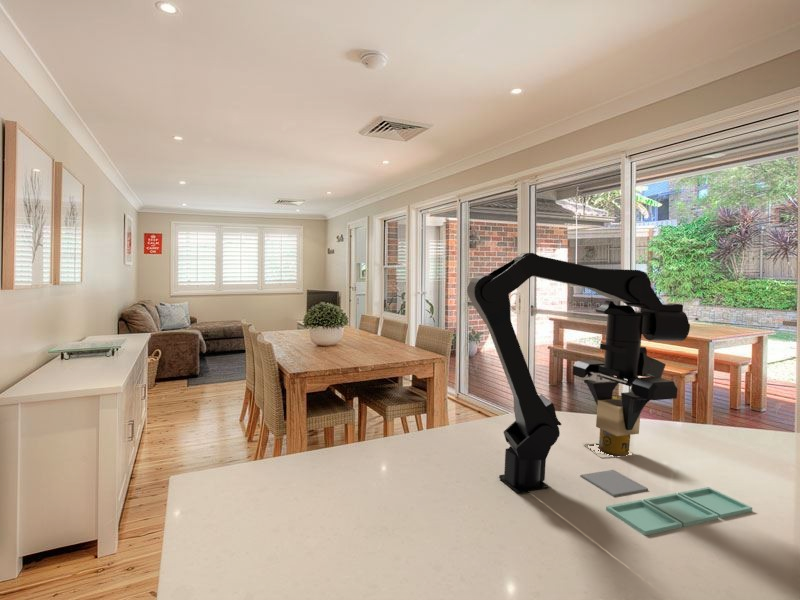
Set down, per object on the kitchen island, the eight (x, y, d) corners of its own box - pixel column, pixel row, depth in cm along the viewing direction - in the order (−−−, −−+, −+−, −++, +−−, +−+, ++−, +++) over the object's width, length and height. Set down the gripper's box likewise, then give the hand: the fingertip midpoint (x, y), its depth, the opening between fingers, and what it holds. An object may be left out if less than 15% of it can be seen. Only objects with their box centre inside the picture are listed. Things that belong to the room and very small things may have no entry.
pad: (613, 498, 80) (613, 494, 80) (580, 477, 88) (580, 474, 88) (647, 491, 83) (648, 488, 83) (613, 472, 90) (613, 469, 90)
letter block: (617, 436, 81) (619, 407, 81) (596, 426, 86) (597, 399, 86) (638, 433, 83) (640, 405, 83) (617, 424, 88) (618, 398, 87)
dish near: (644, 537, 68) (645, 531, 68) (605, 511, 75) (606, 506, 75) (681, 528, 71) (682, 523, 71) (640, 504, 78) (641, 499, 78)
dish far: (720, 520, 74) (720, 514, 74) (677, 497, 81) (678, 492, 81) (751, 512, 77) (752, 507, 77) (708, 491, 84) (708, 486, 84)
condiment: (638, 457, 99) (641, 401, 98) (600, 458, 97) (604, 402, 97) (617, 444, 106) (620, 392, 105) (582, 445, 105) (585, 392, 104)
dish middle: (683, 528, 71) (684, 522, 71) (643, 504, 78) (643, 499, 78) (718, 520, 74) (718, 515, 74) (675, 498, 81) (675, 493, 81)
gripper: (705, 347, 77) (697, 439, 78) (617, 331, 95) (612, 406, 96) (654, 349, 73) (647, 445, 75) (573, 332, 91) (568, 410, 92)
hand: (617, 424), depth 84 cm, fingers closed on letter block, 5 cm apart
